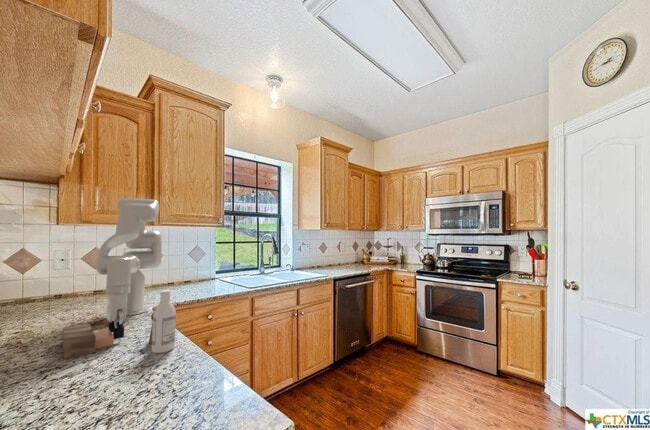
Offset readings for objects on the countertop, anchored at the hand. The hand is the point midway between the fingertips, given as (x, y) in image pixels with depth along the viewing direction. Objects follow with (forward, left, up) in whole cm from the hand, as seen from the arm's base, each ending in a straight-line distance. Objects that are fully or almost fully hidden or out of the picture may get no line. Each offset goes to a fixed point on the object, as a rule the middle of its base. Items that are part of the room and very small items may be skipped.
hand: (115, 335), depth 106 cm
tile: (0, -7, -2) cm, 7 cm away
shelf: (0, -11, -2) cm, 11 cm away
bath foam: (+24, +10, -2) cm, 26 cm away
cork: (+14, +11, -2) cm, 18 cm away
